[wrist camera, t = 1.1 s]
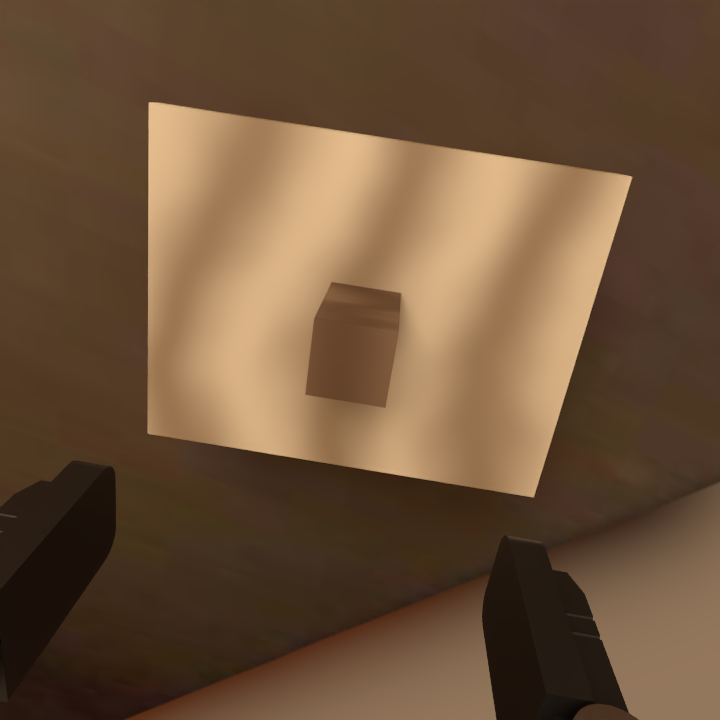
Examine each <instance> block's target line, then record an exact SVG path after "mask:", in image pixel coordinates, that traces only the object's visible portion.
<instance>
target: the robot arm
mask: <svg viewBox="0 0 720 720" xmlns="http://www.w3.org/2000/svg"><path fill="white" fill-rule="evenodd" d="M115 531H116V489H115V471H114V469H113V467H111V466H105V465H99V464H93V463H87V462H82V461H72V462H71V463H70V464H68V465H67V466H66V467H65V468H64V469H63V471H62V472H61V473H60V474H59V475H58V476H57V477H56V478H55V479H54V480H53V481H52V482H47V481H39V482H37V483H35V484H33V485H31V486H29V487H27V488H25V489H23V490H22V491H20V492H18V493H16V494H14V495H13V496H12V497H11V498H10V499H9V500H8V501H7V502H6V503H5V504H4V505H3V506H2V507H1V508H0V701H4V702H8V701H9V700H10V698H11V697H12V695H13V694H14V693H15V691H16V690H17V688H18V687H19V685H20V684H21V682H22V681H23V679H24V678H25V677H26V675H27V674H28V672H29V671H30V669H31V668H32V666H33V665H34V663H35V662H36V660H37V659H38V658H39V656H40V655H41V653H42V652H43V650H44V649H45V647H46V646H47V644H48V643H49V642H50V640H51V639H52V637H53V636H54V634H55V633H56V631H57V630H58V628H59V627H60V625H61V624H62V623H63V621H64V620H65V618H66V617H67V615H68V614H69V612H70V611H71V609H72V608H73V606H74V605H75V604H76V602H77V601H78V599H79V598H80V596H81V595H82V593H83V592H84V590H85V589H86V588H87V586H88V585H89V583H90V582H91V580H92V579H93V577H94V576H95V574H96V573H97V571H98V570H99V569H100V567H101V566H102V564H103V563H104V561H105V560H106V558H107V556H108V554H109V552H110V550H111V547H112V544H113V541H114V537H115ZM482 620H483V621H482V622H483V631H484V637H485V644H486V650H487V658H488V665H489V672H490V678H491V685H492V692H493V699H494V705H495V712H496V719H497V720H638V719H637V718H635V717H634V716H632V715H631V714H629V712H628V710H627V707H626V705H625V702H624V699H623V696H622V693H621V691H620V688H619V685H618V683H617V680H616V677H615V675H614V672H613V669H612V667H611V664H610V661H609V658H608V656H607V653H606V651H605V648H604V645H603V642H602V640H600V639H599V638H600V634H599V631H598V629H597V626H596V623H595V621H593V615H592V613H591V610H590V607H589V605H588V602H587V599H586V597H585V594H584V593H583V591H582V590H581V589H580V588H579V587H578V585H577V584H576V583H575V582H574V581H573V580H572V578H571V577H570V576H569V575H568V573H566V572H561V571H555V570H552V567H551V564H550V561H549V558H548V555H547V552H546V549H545V546H544V544H543V543H542V542H540V541H534V540H528V539H523V538H517V537H511V536H504V537H503V538H502V540H501V542H500V545H499V548H498V552H497V555H496V558H495V562H494V565H493V568H492V572H491V575H490V578H489V582H488V585H487V588H486V592H485V596H484V601H483V612H482Z"/></svg>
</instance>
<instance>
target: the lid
mask: <svg viewBox="0 0 720 720" xmlns="http://www.w3.org/2000/svg"><path fill="white" fill-rule="evenodd" d="M631 179H632V177H631V176H627V175H623V174H616V173H610V172H603V171H597V170H590V169H584V168H578V167H571V166H565V165H558V164H552V163H545V162H539V161H532V160H526V159H519V158H513V157H506V156H500V155H494V154H487V153H481V152H474V151H468V150H461V149H455V148H448V147H442V146H435V145H429V144H423V143H416V142H410V141H403V140H397V139H390V138H384V137H377V136H371V135H364V134H358V133H351V132H345V131H339V130H332V129H326V128H319V127H313V126H306V125H300V124H293V123H287V122H280V121H274V120H267V119H261V118H255V117H248V116H242V115H235V114H229V113H222V112H216V111H209V110H203V109H196V108H190V107H184V106H177V105H171V104H164V103H156V102H149V205H148V434H154V435H160V436H166V437H172V438H178V439H184V440H190V441H196V442H202V443H208V444H214V445H220V446H226V447H232V448H238V449H244V450H250V451H256V452H262V453H268V454H274V455H280V456H287V457H293V458H299V459H305V460H311V461H317V462H323V463H329V464H335V465H341V466H347V467H353V468H359V469H365V470H371V471H377V472H383V473H389V474H395V475H401V476H407V477H413V478H419V479H425V480H431V481H437V482H443V483H450V484H456V485H462V486H468V487H474V488H480V489H486V490H492V491H498V492H504V493H510V494H516V495H522V496H528V497H534V495H535V492H536V488H537V485H538V482H539V479H540V475H541V472H542V469H543V466H544V462H545V459H546V456H547V453H548V449H549V446H550V443H551V440H552V436H553V433H554V430H555V427H556V423H557V420H558V417H559V414H560V410H561V407H562V404H563V401H564V397H565V394H566V391H567V387H568V384H569V381H570V378H571V374H572V371H573V368H574V365H575V361H576V358H577V355H578V352H579V348H580V345H581V342H582V339H583V335H584V332H585V329H586V326H587V322H588V319H589V316H590V313H591V309H592V306H593V303H594V300H595V296H596V293H597V290H598V287H599V283H600V280H601V277H602V274H603V270H604V267H605V264H606V261H607V257H608V254H609V251H610V248H611V244H612V241H613V238H614V235H615V231H616V228H617V225H618V222H619V218H620V215H621V212H622V209H623V205H624V202H625V199H626V196H627V192H628V189H629V186H630V183H631Z"/></svg>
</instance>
